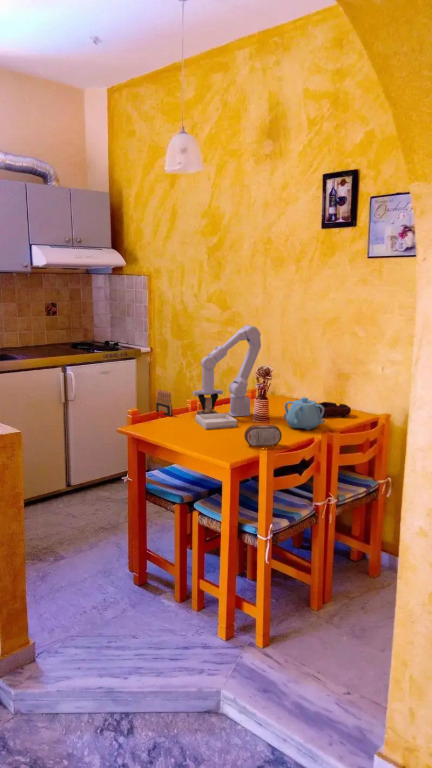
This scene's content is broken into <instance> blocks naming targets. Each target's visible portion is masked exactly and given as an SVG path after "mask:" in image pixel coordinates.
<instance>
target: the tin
mask: <svg viewBox="0 0 432 768" xmlns="http://www.w3.org/2000/svg"><path fill="white" fill-rule="evenodd" d="M243 435H244V441H246V443H247V444H248V445H249V446H250V447H273V446H272V445H274V446H276V445H279V443H280V442H281V440H282V436H283V434H282V431H281V430H280V428H279V426H277V425H274V424H253V425H250V426H249V427H247V428H246V430H245V431H244V434H243Z"/></svg>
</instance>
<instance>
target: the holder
mask: <svg viewBox="0 0 432 768" xmlns="http://www.w3.org/2000/svg"><path fill="white" fill-rule="evenodd" d="M217 413H218V412H217V411H216V410H215V409H214V410H212V413H211V414H217ZM196 415H204V410H197V411H196Z"/></svg>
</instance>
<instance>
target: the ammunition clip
mask: <svg viewBox="0 0 432 768" xmlns="http://www.w3.org/2000/svg"><path fill="white" fill-rule="evenodd" d="M171 393H172V392H171V391H168V390H162V388H161V389H159V388H158V389H157V393H156V395H157V396H156V403H155V412H159V411H164V412H165V413H164V416H167V417H172V416H173V405H172V397H171V396H172V394H171Z"/></svg>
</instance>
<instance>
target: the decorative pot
mask: <svg viewBox="0 0 432 768" xmlns="http://www.w3.org/2000/svg"><path fill="white" fill-rule="evenodd" d="M289 404H291V405H290V406H289V409H288V405H289ZM319 407H320V408H321V409H322V413H321V414H320V410H319ZM284 411H285V413H284V414H283V419H285V420H286V423H287V425H288V426H289V427H291V429H303V430H305V431H311V430H312V429H315V428H317V427H318V426H319V425H320V424H321V425H322V424H325V422H326V419H325V417H323V418H322V416H323V414H324V407H323V406H322V405H319V403H317V402H316V401H315V400H311V399H309V397H305V396H303V397H300V399H296V400H294V401H291V400H289V401H286V402H285V403H284Z"/></svg>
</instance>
